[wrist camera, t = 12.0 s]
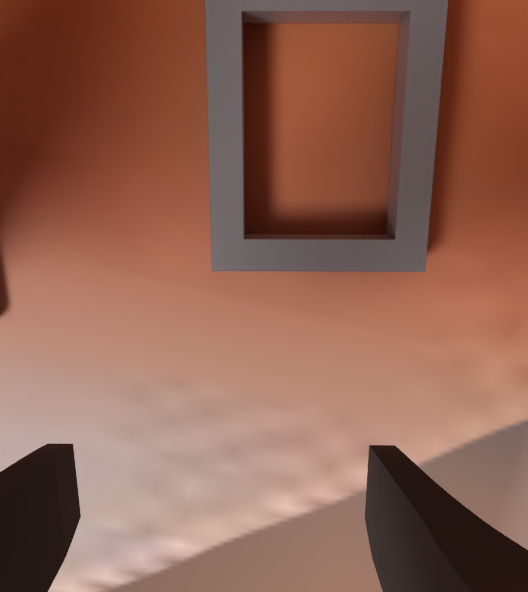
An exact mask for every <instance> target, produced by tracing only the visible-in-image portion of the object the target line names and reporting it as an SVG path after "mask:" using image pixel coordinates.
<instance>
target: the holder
mask: <svg viewBox="0 0 528 592" xmlns="http://www.w3.org/2000/svg"><path fill="white" fill-rule="evenodd" d="M447 9H448V0H205V22H206V60H207V99H208V137H209V176H210V215H211V253H212V271H364V272H425V267H426V256H427V244H428V232H429V220H430V209H431V197H432V185H433V173H434V162H435V150H436V138H437V126H438V115H439V103H440V91H441V79H442V68H443V56H444V44H445V32H446V21H447ZM244 23H399V37H398V53H397V69H396V84H395V100H394V116H393V132H392V147H391V163H390V179H389V195H388V210H387V226H386V234H245V135H244Z"/></svg>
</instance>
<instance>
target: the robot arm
mask: <svg viewBox="0 0 528 592" xmlns="http://www.w3.org/2000/svg"><path fill="white" fill-rule="evenodd" d="M80 517H81V515H80V506H79V497H78V487H77V478H76V469H75V460H74V450H73V444H47V445H45V446H43V447H41V448H39V449H37V450H35V451H34V452H32V453H30V454H29V455H27V456H25V457H24V458H22V459H20V460H19V461H17V462H16V463H14V464H12V465H11V466H9V467H8V468H6V469H4V470H3V471H1V472H0V592H48V590H49V588H50V586H51V584H52V582H53V580H54V578H55V577H56V575H57V573H58V571H59V569H60V567H61V565H62V563H63V561H64V559H65V557H66V555H67V552H68V549H69V547H70V544H71V542H72V539H73V536H74V534H75V531H76V528H77V525H78V522H79V519H80ZM365 521H366V527H367V532H368V538H369V543H370V548H371V552H372V558H373V561H374V564H375V568H376V571H377V574H378V578H379V581H380V584H381V587H382V590H383V592H528V550H526V549H525V548H523V547H522V546H520V545H519V544H517V543H516V542H514V541H512V540H511V539H509V538H508V537H506V536H504V535H503V534H502V533H500V532H499V531H497V530H495V529H494V528H493V527H491V526H490V525H489V524H487V523H486V522H484V521H483V520H482V519H480V518H479V517H478V516H476V515H475V514H474V513H472V512H471V511H470V510H468V509H467V508H466V507H465V506H463V505H462V504H461V503H459V502H458V501H457V500H456V499H455V498H453V497H452V496H451V495H450V494H448V493H447V492H446V491H445V490H444V489H443V488H441V487H440V486H439V485H438V484H437V483H435V482H434V481H433V480H432V479H431V478H430V477H429V476H428V475H426V473H424V472H423V471H422V470H421V469H420V468H419V467H418V466H417V465H416V464H415V463H414V462H412V461H411V460H410V459H409V458H408V457H407V456H406V455H405V454H404V453H403V452H402V451H400V450H399V449H398V448H397V447H396V446H387V445H369V460H368V476H367V492H366V509H365Z"/></svg>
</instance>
